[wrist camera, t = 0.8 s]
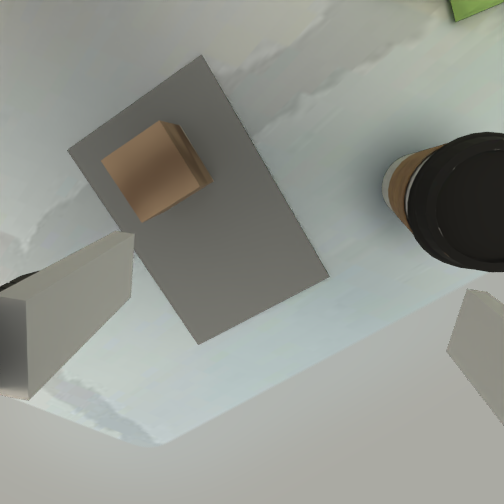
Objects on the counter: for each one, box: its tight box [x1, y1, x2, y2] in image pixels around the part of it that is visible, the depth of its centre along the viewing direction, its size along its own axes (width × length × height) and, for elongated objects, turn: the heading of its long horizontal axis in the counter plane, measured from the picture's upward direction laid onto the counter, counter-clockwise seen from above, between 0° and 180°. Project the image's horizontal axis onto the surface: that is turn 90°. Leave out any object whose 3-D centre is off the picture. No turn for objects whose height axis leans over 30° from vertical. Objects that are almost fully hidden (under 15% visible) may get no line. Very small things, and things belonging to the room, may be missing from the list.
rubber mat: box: [67, 55, 329, 345], centre depth 38 cm, size 24×16×1 cm, turn 31°
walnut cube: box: [101, 120, 214, 223], centre depth 34 cm, size 6×6×6 cm
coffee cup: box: [382, 132, 504, 272], centre depth 28 cm, size 8×8×15 cm
